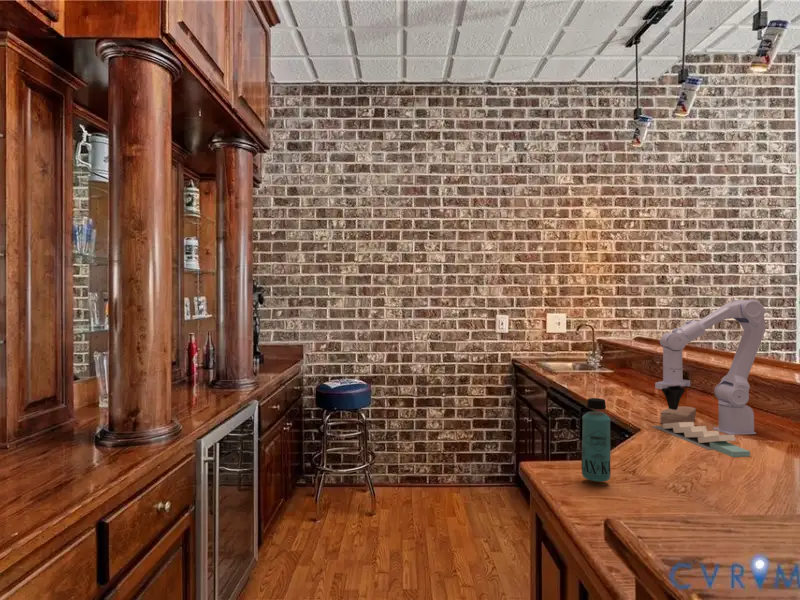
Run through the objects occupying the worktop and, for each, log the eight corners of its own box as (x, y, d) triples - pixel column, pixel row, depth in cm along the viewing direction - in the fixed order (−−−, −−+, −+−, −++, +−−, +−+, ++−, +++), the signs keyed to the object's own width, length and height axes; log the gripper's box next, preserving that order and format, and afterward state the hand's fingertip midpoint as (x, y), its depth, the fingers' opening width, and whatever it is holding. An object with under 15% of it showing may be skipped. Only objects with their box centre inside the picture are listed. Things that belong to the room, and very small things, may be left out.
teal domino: (725, 441, 145) (750, 451, 136) (725, 446, 145) (749, 457, 136) (709, 441, 145) (733, 451, 136) (709, 447, 145) (732, 457, 136)
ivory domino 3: (698, 431, 156) (718, 430, 148) (699, 437, 156) (719, 436, 147) (683, 432, 156) (702, 431, 147) (684, 437, 156) (704, 436, 147)
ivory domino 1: (676, 423, 167) (693, 421, 159) (677, 428, 167) (694, 427, 158) (662, 423, 167) (678, 422, 158) (663, 428, 167) (679, 427, 158)
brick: (686, 427, 168) (686, 413, 168) (659, 423, 173) (659, 410, 173) (696, 420, 180) (696, 407, 180) (670, 417, 186) (670, 404, 186)
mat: (675, 426, 171) (675, 425, 171) (737, 449, 143) (737, 448, 143) (650, 426, 170) (650, 426, 170) (708, 450, 142) (708, 449, 142)
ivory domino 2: (687, 427, 162) (705, 426, 153) (688, 432, 161) (706, 431, 153) (672, 427, 161) (690, 426, 153) (673, 433, 161) (691, 431, 152)
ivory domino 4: (712, 437, 150) (734, 434, 142) (714, 442, 150) (735, 440, 141) (697, 437, 150) (718, 435, 141) (698, 443, 149) (719, 440, 141)
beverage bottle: (576, 478, 120) (576, 396, 120) (603, 478, 120) (602, 395, 120) (589, 488, 113) (588, 401, 113) (617, 487, 114) (616, 401, 114)
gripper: (668, 371, 159) (668, 413, 159) (698, 368, 165) (699, 409, 165) (649, 368, 165) (649, 409, 165) (679, 366, 171) (679, 405, 171)
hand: (673, 409), depth 165 cm, fingers closed
